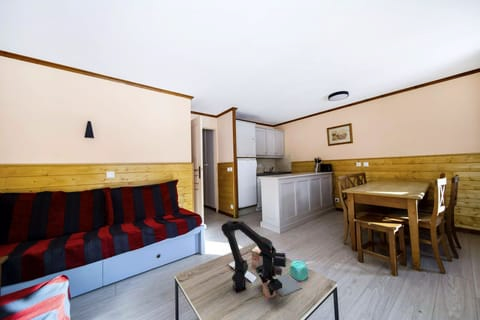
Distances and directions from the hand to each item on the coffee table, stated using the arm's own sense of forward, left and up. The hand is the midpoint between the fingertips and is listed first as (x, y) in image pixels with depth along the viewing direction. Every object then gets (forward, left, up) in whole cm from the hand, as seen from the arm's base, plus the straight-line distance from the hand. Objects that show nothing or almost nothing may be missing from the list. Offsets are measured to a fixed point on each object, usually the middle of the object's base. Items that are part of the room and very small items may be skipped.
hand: (269, 292), depth 98 cm
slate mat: (+12, +2, -1) cm, 12 cm away
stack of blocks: (+14, +30, -1) cm, 33 cm away
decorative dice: (+25, +4, -1) cm, 25 cm away
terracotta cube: (0, 0, -1) cm, 1 cm away
